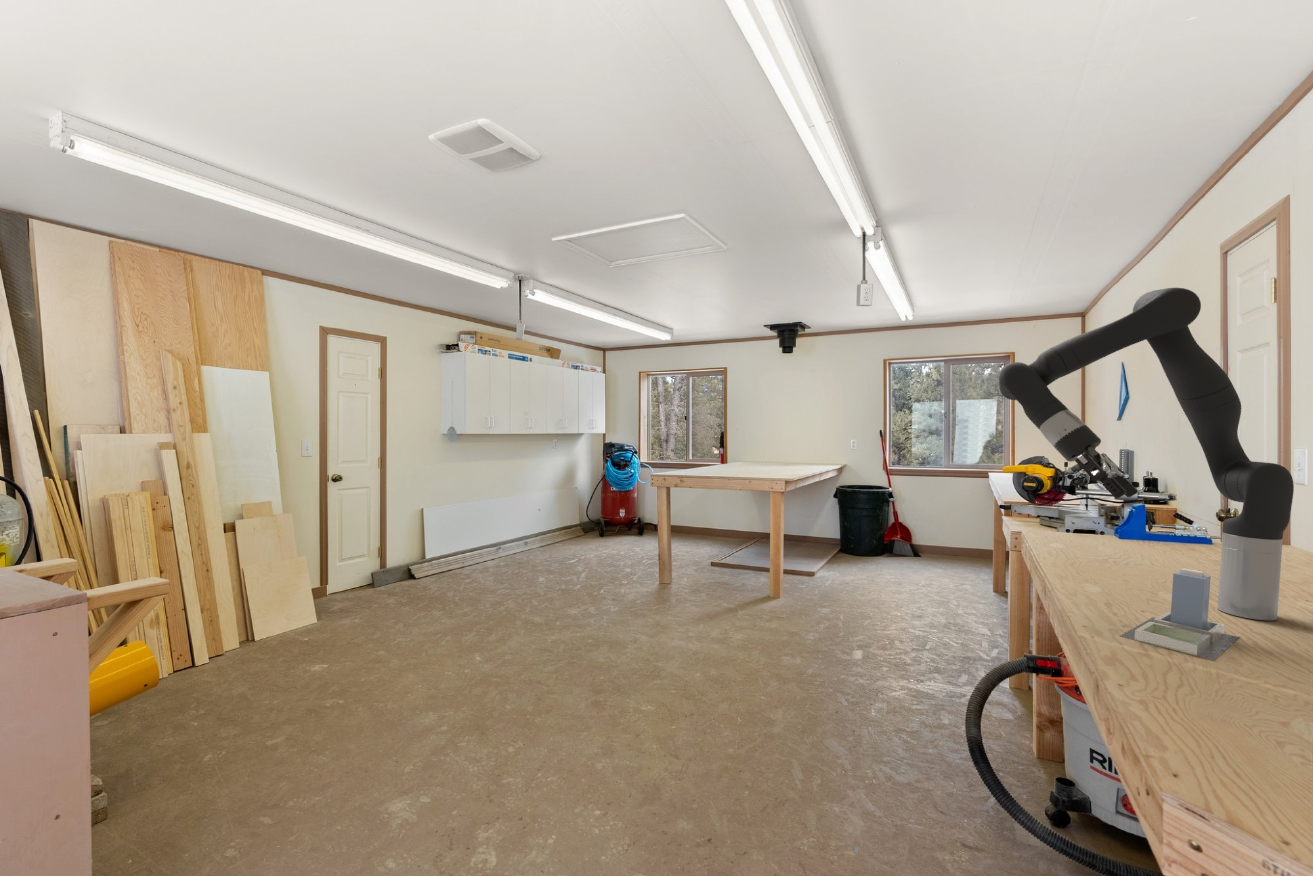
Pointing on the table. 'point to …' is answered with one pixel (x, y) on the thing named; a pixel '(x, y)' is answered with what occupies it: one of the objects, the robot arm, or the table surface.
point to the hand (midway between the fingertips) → (1127, 495)
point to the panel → (1183, 637)
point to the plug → (1190, 598)
